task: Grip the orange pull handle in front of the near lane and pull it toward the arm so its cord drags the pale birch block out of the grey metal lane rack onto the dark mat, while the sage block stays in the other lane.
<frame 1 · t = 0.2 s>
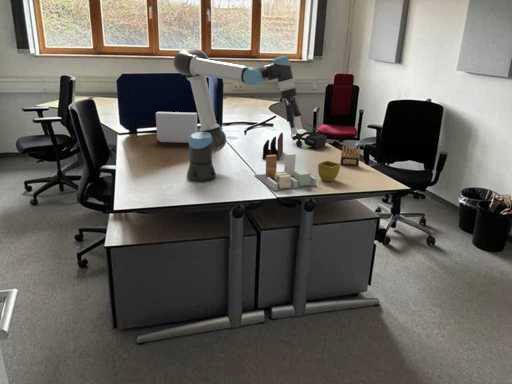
hand: (297, 131, 211), 27 cm above the table, tool tilted 15°, fingers open, 13 cm apart
virtual reality headset: (307, 145, 293), on the table
ammunition clip: (349, 165, 250), on the table
birch block: (277, 171, 216), point 7 cm above the table, slide at 0.0 cm
lane rack: (284, 180, 222), on the table
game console: (177, 141, 294), on the table
letter holder: (272, 156, 267), on the table
flower pot: (327, 180, 225), on the table
sage block: (296, 168, 220), point 7 cm above the table, slide at 0.0 cm
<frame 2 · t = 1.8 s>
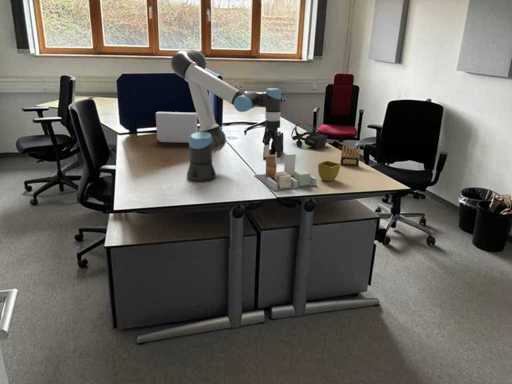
hand: (272, 160, 221), 10 cm above the table, tool pointing down, fingers open, 13 cm apart
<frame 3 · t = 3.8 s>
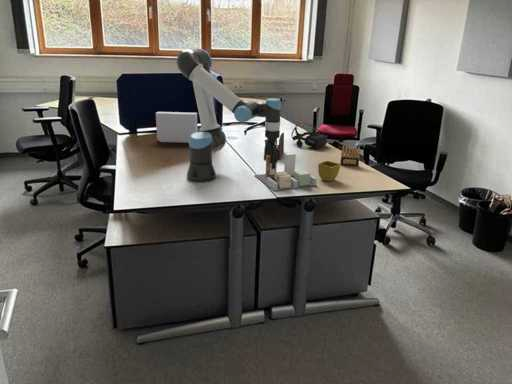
hand: (270, 173, 224), 3 cm above the table, tool pointing down, fingers closed on birch block, 2 cm apart
birch block: (277, 171, 216), point 7 cm above the table, slide at 0.0 cm, touching gripper
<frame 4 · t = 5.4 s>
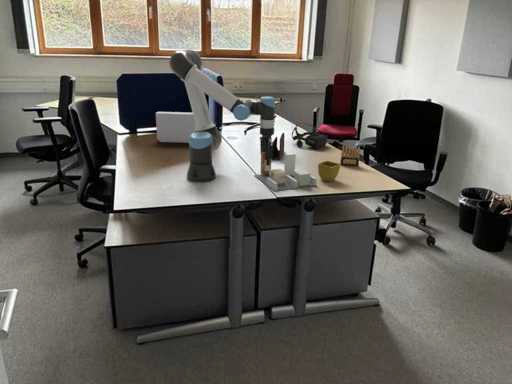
hand: (265, 169, 230), 3 cm above the table, tool pointing down, fingers closed on birch block, 2 cm apart
birch block: (272, 167, 222), point 7 cm above the table, slide at 6.6 cm, touching gripper
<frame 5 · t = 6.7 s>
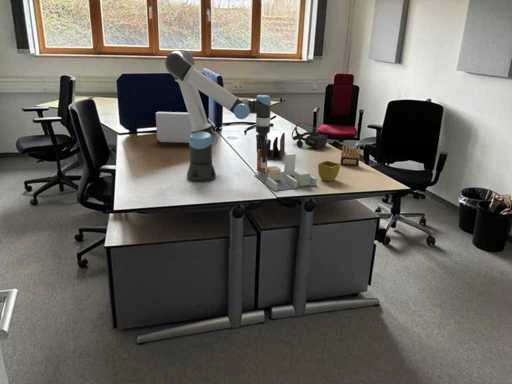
hand: (261, 166, 234), 3 cm above the table, tool pointing down, fingers closed on birch block, 2 cm apart
birch block: (268, 164, 226), point 7 cm above the table, slide at 11.9 cm, touching gripper
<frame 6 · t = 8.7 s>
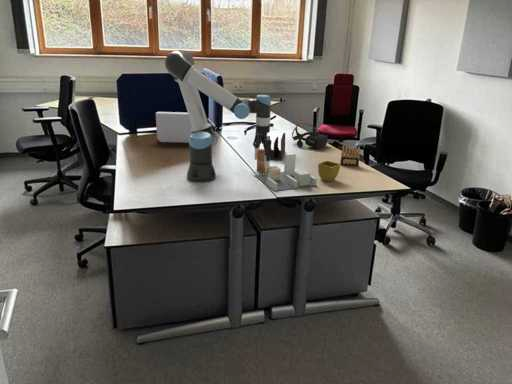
hand: (261, 162, 233), 5 cm above the table, tool pointing down, fingers open, 13 cm apart
birch block: (267, 164, 226), point 7 cm above the table, slide at 12.0 cm
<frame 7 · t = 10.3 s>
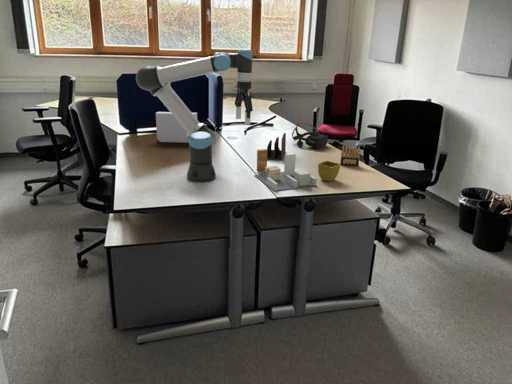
hand: (242, 121, 227), 28 cm above the table, tool pointing down, fingers open, 13 cm apart
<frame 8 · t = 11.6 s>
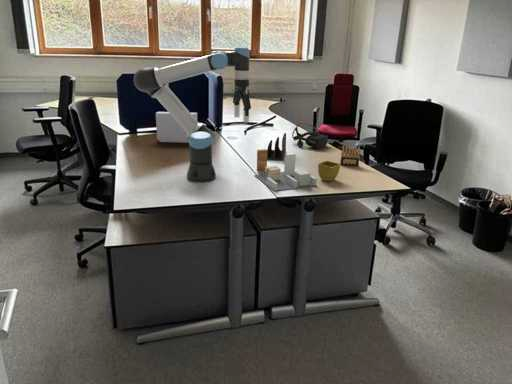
hand: (241, 119, 226), 29 cm above the table, tool pointing down, fingers open, 13 cm apart
at the end: birch block slide at 12.0 cm; sage block slide at 0.0 cm; the gripper is holding nothing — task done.
